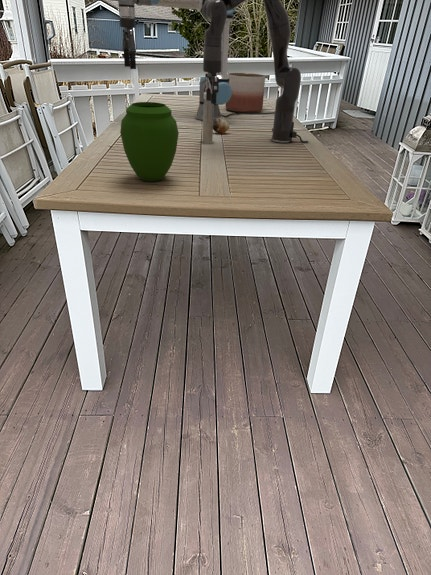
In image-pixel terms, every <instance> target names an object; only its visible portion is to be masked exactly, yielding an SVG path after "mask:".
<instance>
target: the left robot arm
mask: <svg viewBox="0 0 431 575" xmlns="http://www.w3.org/2000/svg"><path fill="white" fill-rule="evenodd" d="M206 1H207V0H117V3H118V9H117V12H118V16H119V20H118V21H119V28H123V29H122V48H121V49H122V51H123V63H124V68H126V67H127V68H128V67H129V69H130V70H137V62H136V59H137V58H136V53H137V46H136V41H135V30H134V29H135V28H137V27H136V26H137V25H136V19H135V18H136V8H135V7H136V6H139V7H142V6H148V7H159V8H160V7H161V8H174V9H190V10H196V11H197V12H200V13H202V7H203V5H204V3H205V2H206ZM135 5H136V6H135ZM236 9H237V7H236V8H235V9H233V10H229V11H227V17H226V22H225V26H224V30H223V33H222V46H221V47H222V64H221V72H220V73H216V75H217V76H218V77H219V90H218V91H219V92H218V93H217V95H216V104H214V113H213V122H214V121H215V120H216V119H218V118H221V117H224V118H227V117H229V116H233V115H268V114H269V115H270V114H275V111H271V112H269V111H267V112H257V113H238V112H233V113H228V114H227V115H224V114H221V110H220V107H219V106H222V105H226V103H227V102H228V101H229V100H230V98H231V95H232V90H231V87H230V85H229V77H228V59H229V40H230V25H231V22H232V21H233V20H234V12H235V11H236ZM205 92H206V89H205V76H202V77H200V78H199V94H198V95H199V99H198V101H199V103H198V104H199V105H198V107H197V111H196V114H195V119H196V120H199V121H203V104H204V101H205V99H204V93H205Z"/></svg>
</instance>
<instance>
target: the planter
mask: <svg viewBox="0 0 431 575" xmlns="http://www.w3.org/2000/svg"><path fill="white" fill-rule="evenodd" d="M227 76H228V77H229V85H230V87H231V90H232V95H231V98H230V100H229V101H228V102H227V103H225V109H226V110H227V111H229V112H233V113H261V112H262V111H263V108H264V95H265V84H266V75H264V74H261V73H253V72H251V73H250V72H228V73H227Z"/></svg>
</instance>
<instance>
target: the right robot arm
mask: <svg viewBox="0 0 431 575" xmlns="http://www.w3.org/2000/svg"><path fill="white" fill-rule="evenodd" d="M246 1H247V0H207V1H206V2H205V3H204V5H203V7H202V12H201V14H202V17H203V18H204V20H206V21H207V22H210V23H209V27H208V28H207V29H205V32H204V46H203V60H202V61H203V62H202V71H203V72H205V73H204V77H205V89H206V100H207V101H211V103H212V104H216V95H217V93H218V92H219V91H218V90H219V77H218V76H217V75H216V73H220V72H221V64H222V47H221V46H222V33H223V30H224V26H225V22H226V17H227V11H229V10H233V9H235V8H236V9H237V8H238V7H239V6H241V5H242V4H243V3H245V2H246ZM263 4H264V9H265V15H266V19H267V28H268V34H269V39H270V44H271V51H272V55H273V66H274V80H275V82H276V85H277V87H279V88H281V89H282V94H281V95H279V96H277V97H276V99H275V106H274V112H275V113H274V116H273V117H274V118H273V125H272V126H273V127H272V129H271V132H272V134H271V141H272V142H273V143H278V144H288V143H292V140H293V139H296V138H299V141H300V142H301V143H302V144H306V143H309V140H303V139H302V137H301V135H299V134H298V132H297V131H295V130H294V128H295V121H294V117H295V116H294V114H295V107H296V102H297V100H298V97H299V93H300V87H301V80H302V75H301V71H300V69H299V68H297V67H293V66H290V64H289V59H288V49H289V46H290V41H291V38H292V37H291V35H292V33H291V32H292V31H291V21H290V17H289V14H288V11H287V10H286V7H285V5H284V4H283V2H282V1H281V0H263ZM236 9H235V10H236Z"/></svg>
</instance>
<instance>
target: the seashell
mask: <svg viewBox="0 0 431 575" xmlns="http://www.w3.org/2000/svg"><path fill="white" fill-rule="evenodd" d="M228 130H230V123H229V122H228V121H227V119H226V117H223V116H221V118H218V119H216V120H215V121H213V132H215V133H218V134H224V133H226V132H227V131H228Z"/></svg>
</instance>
